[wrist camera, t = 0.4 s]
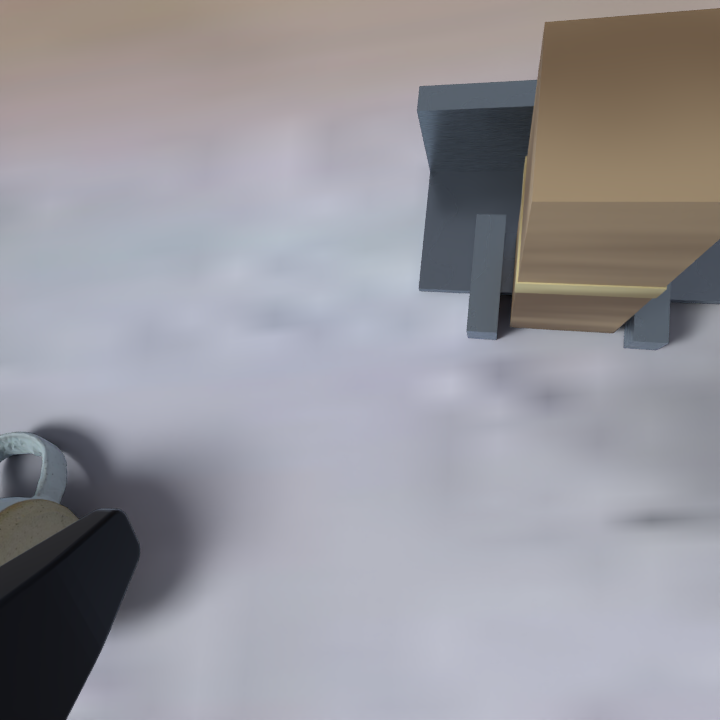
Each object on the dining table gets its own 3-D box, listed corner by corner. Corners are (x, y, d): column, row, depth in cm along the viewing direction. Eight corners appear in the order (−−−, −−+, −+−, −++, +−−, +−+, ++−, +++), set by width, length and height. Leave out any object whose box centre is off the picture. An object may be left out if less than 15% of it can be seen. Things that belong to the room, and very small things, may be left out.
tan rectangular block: (614, 334, 21) (764, 204, 10) (508, 328, 22) (529, 204, 11) (619, 236, 22) (767, 1, 10) (515, 235, 23) (542, 20, 11)
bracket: (721, 354, 20) (793, 327, 16) (415, 334, 23) (396, 306, 19) (726, 150, 22) (794, 65, 17) (433, 156, 24) (419, 86, 20)
